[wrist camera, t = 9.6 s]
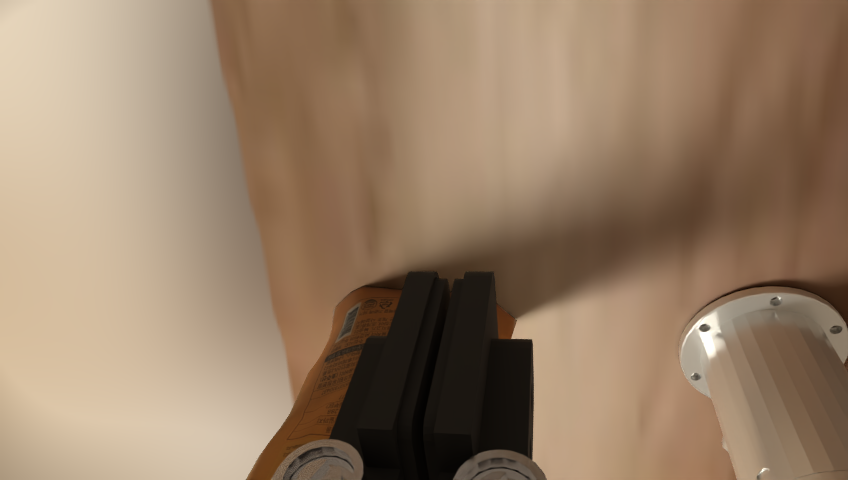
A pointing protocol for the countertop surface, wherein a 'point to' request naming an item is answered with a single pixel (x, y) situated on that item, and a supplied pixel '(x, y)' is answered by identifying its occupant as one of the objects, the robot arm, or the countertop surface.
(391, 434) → the robot arm
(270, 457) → the pancake mix bag
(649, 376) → the countertop surface
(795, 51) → the countertop surface
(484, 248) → the countertop surface
